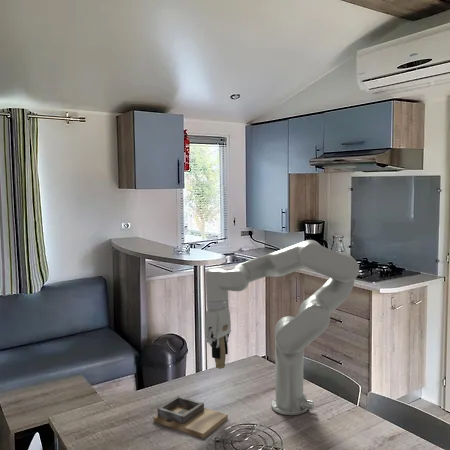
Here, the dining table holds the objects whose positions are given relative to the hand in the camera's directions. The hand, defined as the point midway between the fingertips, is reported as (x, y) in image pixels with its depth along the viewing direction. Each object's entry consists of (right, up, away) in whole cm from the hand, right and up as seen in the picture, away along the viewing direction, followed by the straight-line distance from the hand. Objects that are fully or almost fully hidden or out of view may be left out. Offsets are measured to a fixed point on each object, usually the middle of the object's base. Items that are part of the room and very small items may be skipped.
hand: (220, 355), depth 164 cm
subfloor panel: (-10, -19, -9) cm, 23 cm away
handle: (0, -4, 0) cm, 4 cm away
